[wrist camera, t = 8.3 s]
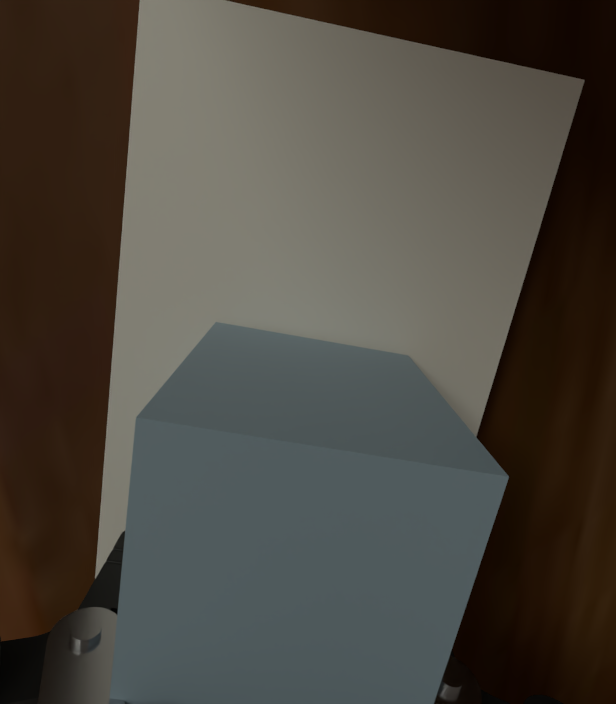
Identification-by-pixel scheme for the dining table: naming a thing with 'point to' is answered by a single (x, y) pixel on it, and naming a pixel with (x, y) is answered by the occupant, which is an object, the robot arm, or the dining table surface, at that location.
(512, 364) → the dining table surface
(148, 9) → the board
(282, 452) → the block
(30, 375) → the dining table surface
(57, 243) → the dining table surface
